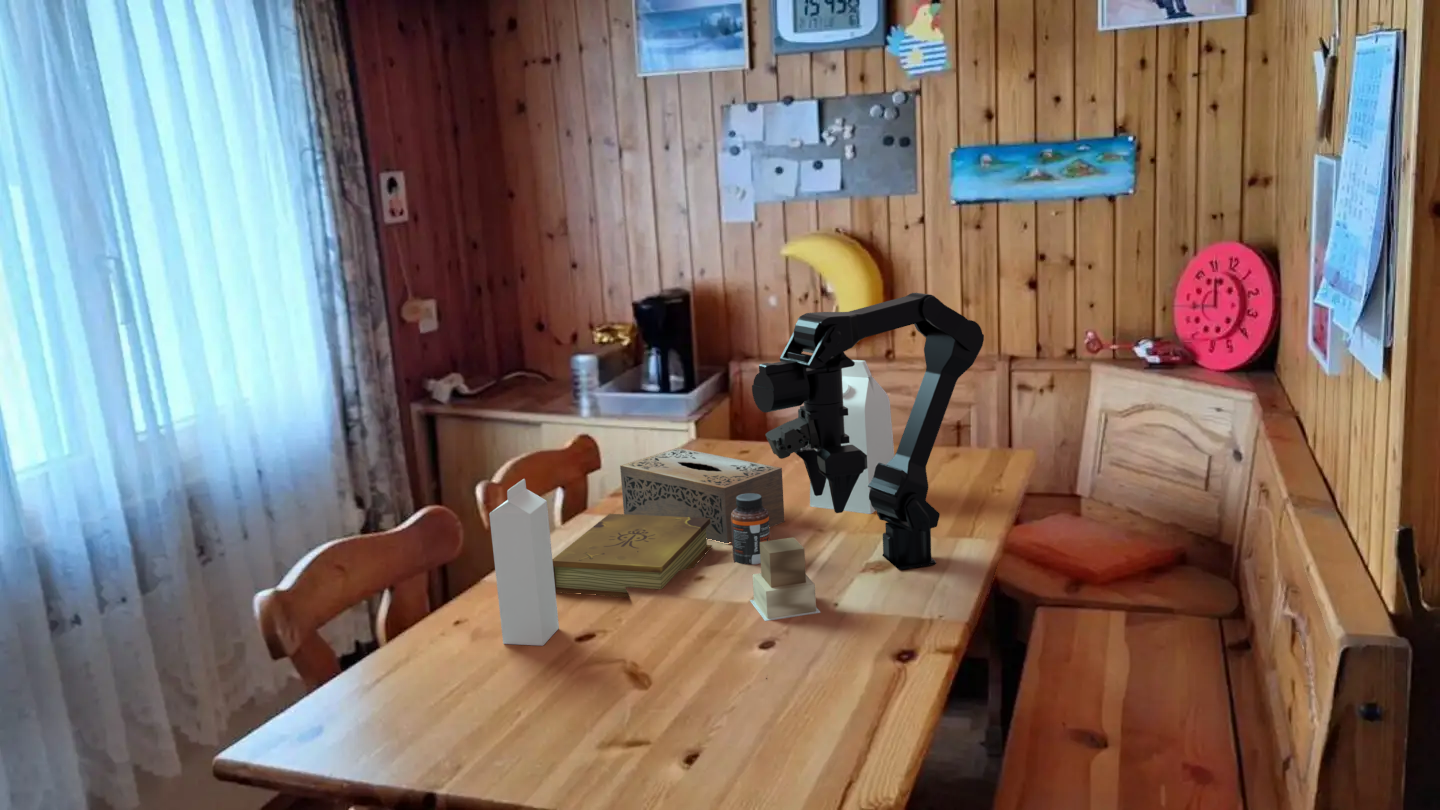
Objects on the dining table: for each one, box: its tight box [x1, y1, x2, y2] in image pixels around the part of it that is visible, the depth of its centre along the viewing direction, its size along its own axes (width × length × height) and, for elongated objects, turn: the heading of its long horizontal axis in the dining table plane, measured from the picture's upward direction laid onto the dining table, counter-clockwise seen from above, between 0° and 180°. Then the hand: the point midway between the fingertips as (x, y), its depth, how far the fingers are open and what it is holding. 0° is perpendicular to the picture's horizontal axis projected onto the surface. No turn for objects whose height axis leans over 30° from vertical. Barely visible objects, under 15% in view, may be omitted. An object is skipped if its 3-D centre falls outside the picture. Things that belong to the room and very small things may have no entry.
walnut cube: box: [760, 537, 807, 588], centre depth 169 cm, size 5×5×5 cm
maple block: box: [752, 572, 817, 619], centre depth 170 cm, size 7×7×4 cm
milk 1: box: [488, 478, 560, 646], centre depth 166 cm, size 6×6×22 cm
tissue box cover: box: [619, 447, 785, 543], centre depth 214 cm, size 26×14×10 cm, turn 46°
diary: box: [552, 513, 713, 598], centre depth 192 cm, size 23×19×6 cm
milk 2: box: [809, 359, 895, 515], centre depth 217 cm, size 12×12×26 cm
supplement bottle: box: [731, 493, 771, 565], centre depth 189 cm, size 6×6×11 cm
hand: (828, 503), depth 178 cm, fingers open, 9 cm apart
